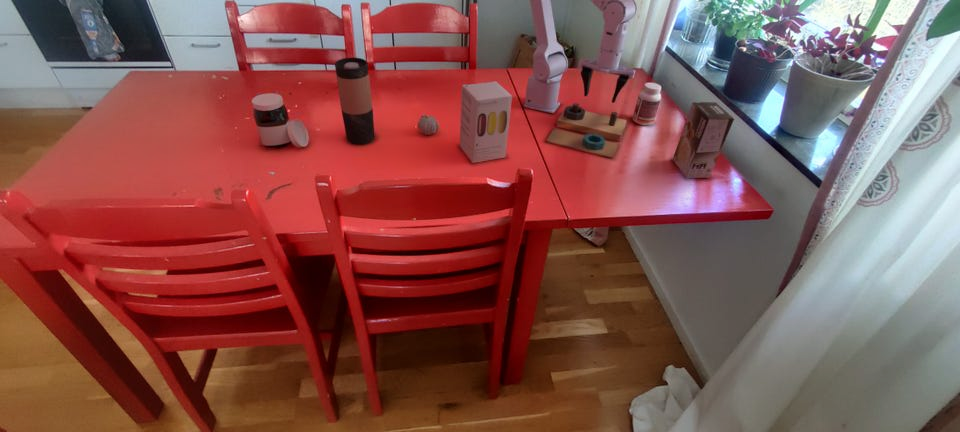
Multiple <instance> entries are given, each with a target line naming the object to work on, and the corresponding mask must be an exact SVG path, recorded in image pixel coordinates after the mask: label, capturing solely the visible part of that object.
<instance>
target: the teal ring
mask: <svg viewBox="0 0 960 432" xmlns="http://www.w3.org/2000/svg"><path fill="white" fill-rule="evenodd" d="M606 139H607V138H603V137H602V136H601V135H597V134H593V133H592V134H586V133H585V135H584V138H583V142H582V145H583V146H585V147H586V148H587V149H591V150H601V149H603V147H604V145H605V141H607V140H606ZM592 141H593V142H592Z"/></svg>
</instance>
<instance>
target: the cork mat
mask: <svg viewBox="0 0 960 432" xmlns="http://www.w3.org/2000/svg"><path fill="white" fill-rule="evenodd" d="M584 136H585V135H584V134H580V133H577V132H572V131H569V130H564V129H560V128H553V129H552V131H550V134H549V136H548V137H547V138H546V140H545V142H546V143H549V144H553V145H557V146H560V147H563V148H564V147H565V148H568V149H572V150H577V151H581V152H583V153H584V152H585V153H588V154H592V155H595V156H596V155H597V156H601V157H603V158H608V159H613V158H614V155H615V154H616V153H615V152H616V151H617V148H618V145H619V143H617V142H613V141H609V140H606V141H605V145H604V147H603V149H601V150H591V149H587V148H586V147H585V146H583V145H582V142H583V138H584ZM592 142H593V141H592Z"/></svg>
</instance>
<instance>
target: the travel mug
mask: <svg viewBox="0 0 960 432" xmlns="http://www.w3.org/2000/svg"><path fill="white" fill-rule="evenodd" d="M334 68H335V75H336V83H337V91H338V96H339V97H338V98H339V103H340V110H341V115H342V121H343V125H344V131H345V136H346V141H347V142H348V143H349V144H351V145H356V146H363V145H368V144H369V143H372V142H373V141H374V140H375V123H374V122H375V121H374V109H373V100H372V92H371V82H370V74H369V73H370V72H369V66H368V62H367V60H366V59H364V58H361V57H345V58H341V59H338V60H336V61H335V62H334Z"/></svg>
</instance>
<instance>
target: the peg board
mask: <svg viewBox="0 0 960 432" xmlns="http://www.w3.org/2000/svg"><path fill="white" fill-rule="evenodd" d="M571 106H572V111H571V112H574V113H578V109H579V107H580V103H576V102H573V103H572V105H571ZM618 116H619V113H618V112H617V111H611V112H610V115H606V114H601V113H597V112H592V111H588V110H585V115H584V118H583V119H582V120H576V121H575V120H571V119H567V118H566V117H565V116H564V110H563V111H562V113H561V114H560V115H559V117H558V118H557V120H556V124H555V126H556V127H557V128H561V129H566V130H568V131H569V130H570V131H574V132H578V133H582V134H585V135H586V134H592V133H593V134H597V135H601V136H602V137H603V138H604V139H607V140H612V141H616V142H620V141H621V138H622V136H623V134H624V132H625V128H626V126H627V123H628V120H627V119H623V118H618Z"/></svg>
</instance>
